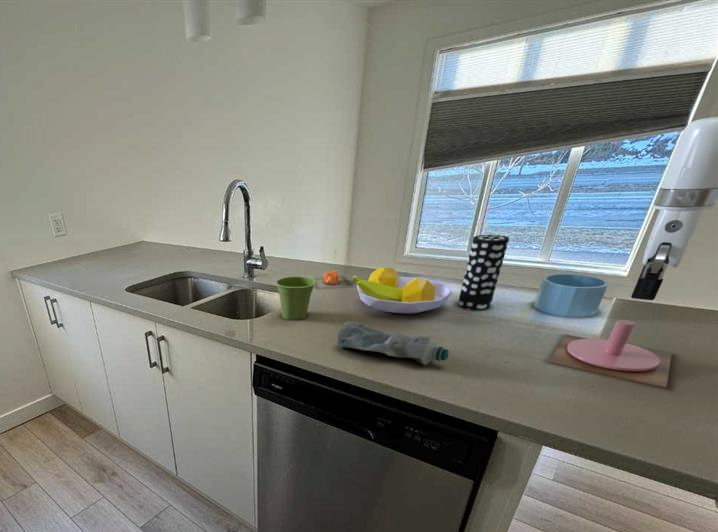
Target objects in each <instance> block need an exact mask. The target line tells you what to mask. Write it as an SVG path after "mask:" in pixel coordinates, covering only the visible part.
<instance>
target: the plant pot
mask: <svg viewBox="0 0 718 532" xmlns="http://www.w3.org/2000/svg"><path fill="white" fill-rule="evenodd" d="M316 284H317V281H316V279H314V278H312V277H308V276H302V275H301V276H299V275H297V276H296V275H295V276H291V275H290V276H284V277H282V278H278V279H277V280H275V285H276V286H277V292H278V295H279V302H280V309H281V317H282V318H283V320H284V319H285V320H286V321H289V320H291V321H298V320H302V319H305V318H306V317H307V313H308V309H309V304H310V300H311V296H312V292H313V289H314V286H315V285H316Z"/></svg>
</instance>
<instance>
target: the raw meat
mask: <svg viewBox="0 0 718 532" xmlns="http://www.w3.org/2000/svg"><path fill="white" fill-rule="evenodd" d="M322 281H323V282H324V283H325V284H328V285H331V286H335V285H338V284H339V275H338V271H337V270H332V271H329V272H326V273H324V274H323V276H322Z"/></svg>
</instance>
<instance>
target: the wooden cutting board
mask: <svg viewBox="0 0 718 532" xmlns="http://www.w3.org/2000/svg"><path fill="white" fill-rule="evenodd" d="M580 339H588V338H586V337H581V336H576V335H570V334H565V336H564V338H563V340H562V341H561V343H560V344H559V346H558V347H557V349H556V351H555V352H554V354H553V355H552V357H551V358H550V360H549V361H548V363H549V364H552V365H558V366H562V367H567V368H571V369H576V370H579V371H585V372H590V373H594V374H599V375H602V376H607V377H612V378H616V379H621V380H625V381H629V382H634V383H638V384H642V385H647V386H653V387H657V388H661V389H667V387H668V381H669V374H670V369H671V368H670V367H671V363H672V362H671V361H672V355H673V353H669V352H664V351H658V350H653V349H647V348H644V349H645V350H648V351H650V352H652V353H653V354H655V355H656V356H657V357H658V358H659V359H660V364H659V366H658V367H656V368H654V369H652V370H647V371H624V370H616V369H610V368H605V367H601V366H597V365H593V364H590V363H587V362H585V361H582V360H580V359H578V358H576V357H574V356H573V355H571V354H570V353H569V352H568V350H567V346H568V344H569V343H570V342H572V341H575V340H580Z"/></svg>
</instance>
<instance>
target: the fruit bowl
mask: <svg viewBox="0 0 718 532" xmlns="http://www.w3.org/2000/svg"><path fill="white" fill-rule="evenodd" d="M352 279H353V280H354V281H355V283H356V288H357V292H358V295H359V298H360V300H361V302H363V303H364V304H366V305H367V306H368V307H370V308H373V309H375V310H377V311H380V312H386V313H393V314H402V315H415V314H419V313H422V312H426V311H431V310H435V309H439V308H440V307H441V306H442V305H443V304H444V303H445V302H446V301H447V300H448V299H449V298H450V296H452V294H453V293H454V292H453V291H452V290H451V289H450V287H449V286H448V285H447V284H446V283H442V282H440V281H435V280H431V279H427V278H424V277H418V276H415V277H414V276H413V277H410V276H400V275H399V272H398V271H397V270H395V268H394V267H385V266H380V267H378V268H377V269H376V270H374V271H373V272H371V273H370V275H369V277H368V279H362V278H359V277H358V276H357V275H353V276H352Z"/></svg>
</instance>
